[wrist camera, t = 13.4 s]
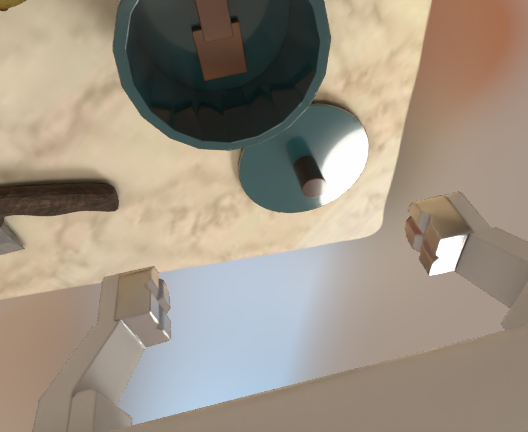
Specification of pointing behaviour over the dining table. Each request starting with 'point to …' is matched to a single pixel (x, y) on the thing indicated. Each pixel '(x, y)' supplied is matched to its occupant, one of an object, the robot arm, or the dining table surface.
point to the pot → (229, 87)
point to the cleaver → (51, 204)
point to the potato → (9, 4)
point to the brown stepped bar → (218, 40)
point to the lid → (306, 161)
